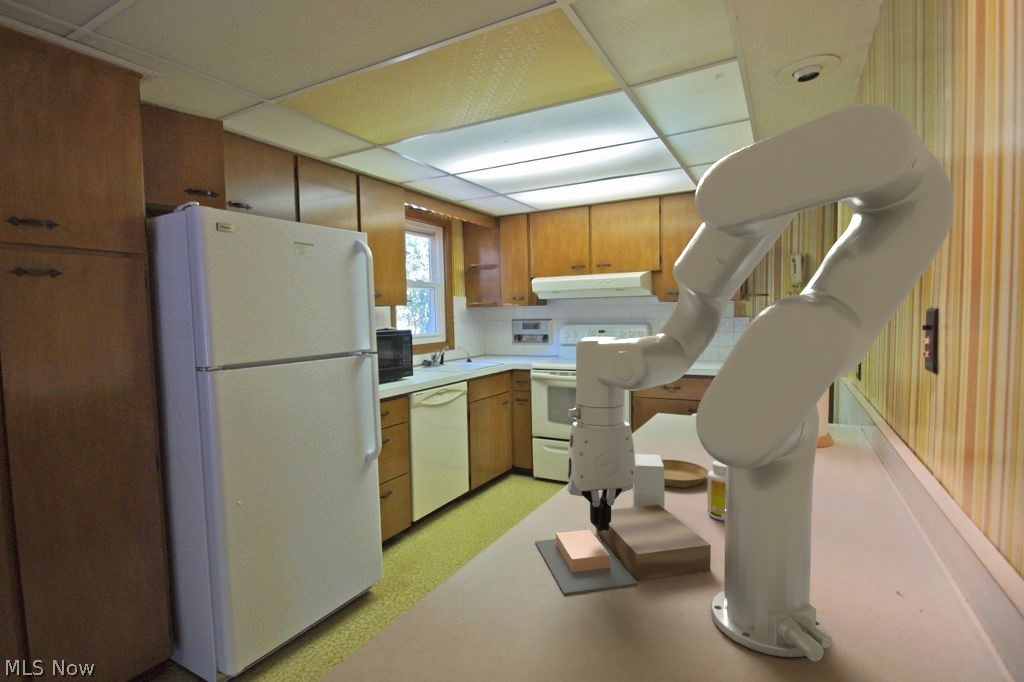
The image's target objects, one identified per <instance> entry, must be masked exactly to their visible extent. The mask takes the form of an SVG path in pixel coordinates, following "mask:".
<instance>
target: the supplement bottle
mask: <svg viewBox="0 0 1024 682" xmlns="http://www.w3.org/2000/svg"><path fill="white" fill-rule="evenodd" d="M711 465H712V467H711V470H710V471H708V472H709V473H708V476H707V514H708V515H709V516H710V517H711V518H713V519H715V520H718V521H723V522H725V490H726V471H727V466H726V465H724V464H722V463H720V462H718V461H717V460H714V461H712V464H711Z"/></svg>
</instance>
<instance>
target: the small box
mask: <svg viewBox="0 0 1024 682" xmlns="http://www.w3.org/2000/svg"><path fill="white" fill-rule="evenodd" d="M662 460H663V459H662V456H661V455H660V454H646V453H645V454H644V453H643V454H642V453H635V465H636V480H635V483H634V484H633V489H632V507H640V506H649V505H660V506H661V507H662V508H663V509H665V507H666V506H665V485H664V465H663V462H662ZM665 510H666V509H665Z"/></svg>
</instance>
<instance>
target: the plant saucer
mask: <svg viewBox="0 0 1024 682" xmlns="http://www.w3.org/2000/svg"><path fill="white" fill-rule="evenodd" d="M662 462H663V465H664V486H665V485H666V487H671V486H672V487H673V488H690V486H691V487H695V486H697V485H699V484H701V483H702V482H704V480H705V479H706V478H708V473H709V472H710V471H709V470H708V469H707V468H706V467H704V466H702V465H700V464H697V463H694V462H690V461H686V460H679V459H662Z"/></svg>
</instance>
